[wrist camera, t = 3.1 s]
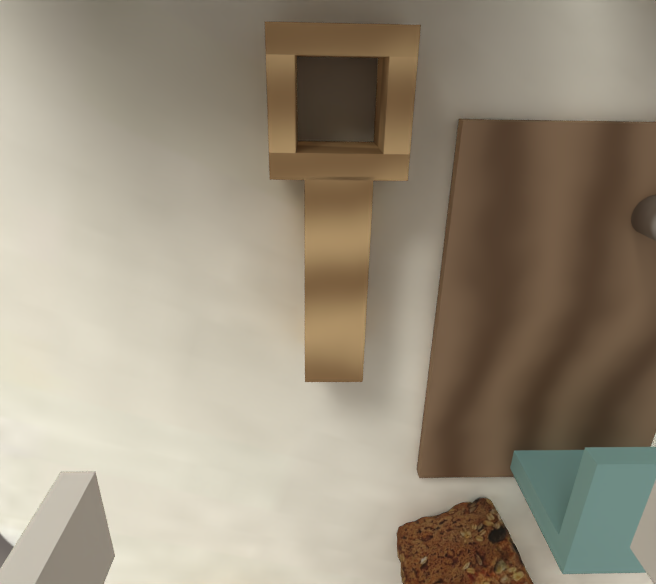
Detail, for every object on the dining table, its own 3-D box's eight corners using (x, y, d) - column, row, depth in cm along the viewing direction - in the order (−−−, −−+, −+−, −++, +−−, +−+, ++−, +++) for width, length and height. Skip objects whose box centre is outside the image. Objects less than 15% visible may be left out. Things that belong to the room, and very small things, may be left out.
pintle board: (416, 469, 45) (430, 520, 40) (458, 119, 32) (486, 128, 27) (633, 467, 45) (673, 516, 40) (756, 123, 33) (836, 133, 28)
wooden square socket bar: (381, 344, 39) (390, 381, 35) (280, 345, 39) (276, 382, 34) (404, 31, 30) (420, 24, 25) (271, 28, 30) (264, 21, 25)
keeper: (505, 459, 44) (562, 574, 34) (526, 365, 40) (597, 464, 30) (636, 458, 45) (729, 570, 35) (669, 365, 41) (786, 462, 31)
